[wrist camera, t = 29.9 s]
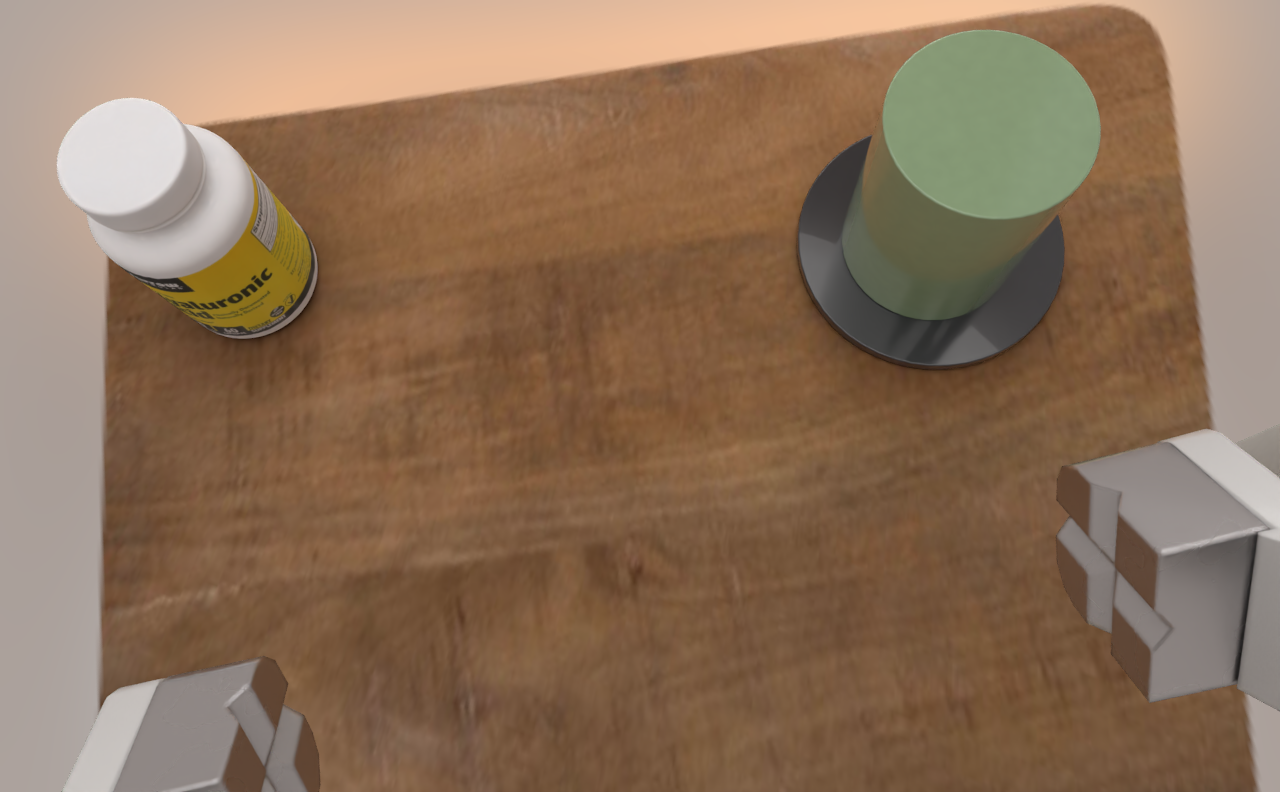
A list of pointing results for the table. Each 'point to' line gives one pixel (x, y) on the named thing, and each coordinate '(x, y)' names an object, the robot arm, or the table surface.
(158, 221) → the supplement bottle
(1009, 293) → the slate coaster
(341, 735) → the table surface
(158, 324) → the table surface
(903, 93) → the sage green cylinder
